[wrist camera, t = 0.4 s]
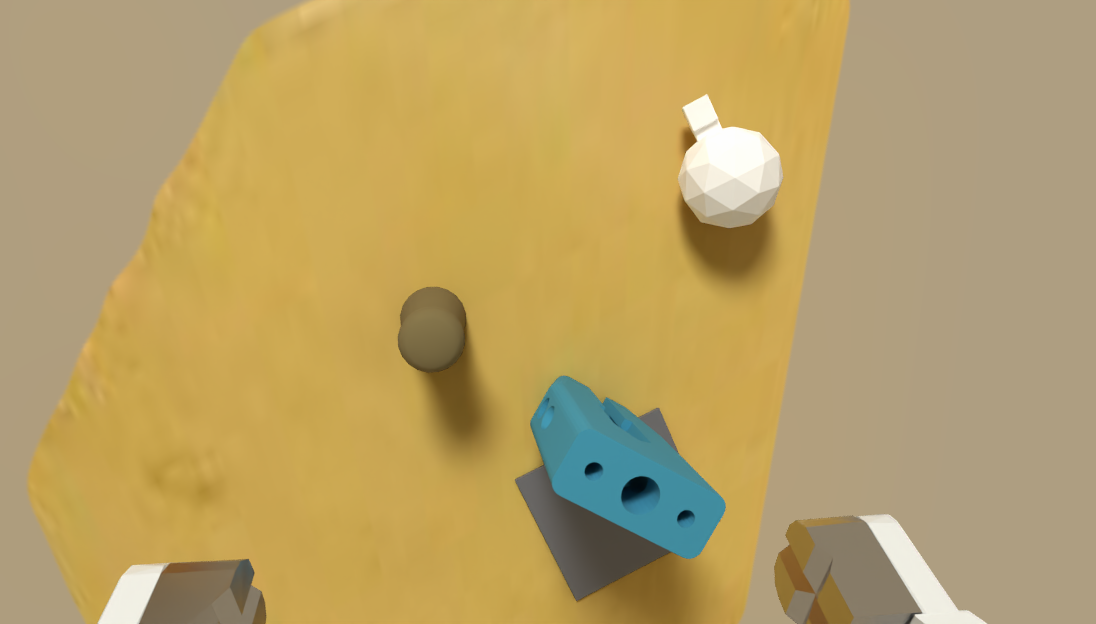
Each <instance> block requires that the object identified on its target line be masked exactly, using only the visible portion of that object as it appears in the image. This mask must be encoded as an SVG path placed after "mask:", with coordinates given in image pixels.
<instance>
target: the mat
mask: <svg viewBox="0 0 1096 624" xmlns="http://www.w3.org/2000/svg"><path fill="white" fill-rule="evenodd" d="M638 418H639V419H640V420H641V421H643V422H644V423H645V424H646V425H648V426H649V427H650V428H651V429H653V430H654V431H655V432H656V433H657V434H659V435H660V436H661V437H662V438H663V439H664V440H665V441H666V442H667V443H668V444H669V445H670V446H671V447H672V448H673V449H674V450H675V451H676V452H677V453H678V451H677V448H676V446H675V444H674V441H673V439H672V437H671V434H670V432H669V430H668V428H667V425H666V423H665V421H664V418H663V416H662V414H661V412H660V409H659V408H656V409H654V410H652V411H650V412H648V413H646V414H644V415H642V416H640V417H638ZM678 454H679V453H678ZM515 481H516V483H517V485H518V487H519V489H520V491H521V493H522V495H523V497H524V499H525V501H526V503H527V505H528V507H529V509H530V511H531V513H532V515H533V517H534V519H535V521H536V523H537V524H538V526H539V528H540V530H541V532H542V534H543V536H544V538H545V540H546V542H547V544H548V546H549V548H550V550H551V552H552V554H553V556H554V558H555V560H556V562H557V564H558V566H559V568H560V570H561V572H562V574H563V576H564V578H565V580H566V581H567V583H568V585H569V587H570V589H571V591H572V593H573V595H574V597H575V599H576V601H577V600H579V599H581V598H583V597H585V596H587V595H589V594H591V593H593V592H595V591H597V590H599V589H600V588H602V587H604V586H606V585H608V584H610V583H612V582H614V581H616V580H618V579H620V578H622V577H623V576H625V575H627V574H629V573H631V572H633V571H635V570H637V569H639V568H641V567H643V566H645V565H646V564H648V563H650V562H652V561H654V560H656V559H658V558H660V557H662V556H664V555H666V554H668V553H670V552H671V551H669V550H667V549H665V548H663V547H661V546H659V545H657V544H655V543H653V542H651V541H649V540H647V539H645V538H643V537H641V536H639V535H637V534H635V533H633V532H631V531H629V530H627V529H625V528H623V527H621V526H619V525H617V524H615V523H613V522H611V521H609V520H607V519H605V518H603V517H601V516H599V515H597V514H595V513H593V512H591V511H589V510H587V509H585V508H583V507H581V506H579V505H577V504H575V503H573V502H571V501H569V500H567V499H565V498H563V497H561V496H559V495H558V494H557V493H556V492H555V491H554V489H553V487H552V484H551V482H550V479H549V476H548V473H547V471H546V468H545V465H543V466H541V467H539V468H537V469H535V470H533V471H531V472H529V473H527V474H525V475H523V476H521V477H519V478H517V479H515Z"/></svg>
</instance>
